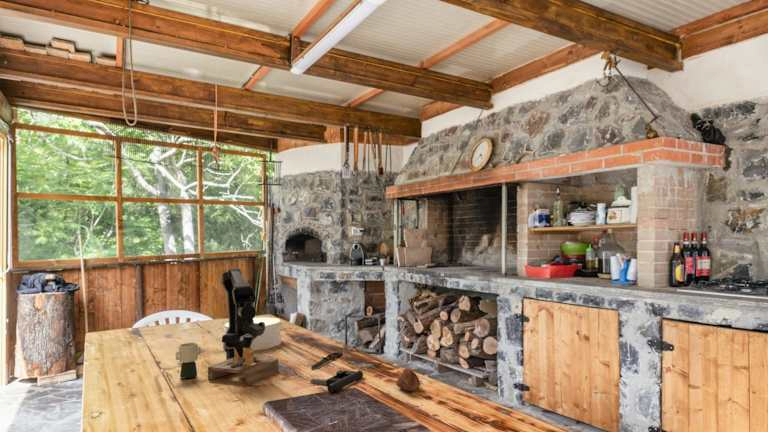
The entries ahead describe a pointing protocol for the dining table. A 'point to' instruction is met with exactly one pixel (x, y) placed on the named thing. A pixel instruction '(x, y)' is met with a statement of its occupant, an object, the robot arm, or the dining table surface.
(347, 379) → the door handle
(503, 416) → the dining table surface
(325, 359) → the knife
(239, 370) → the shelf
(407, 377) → the fossil
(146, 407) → the dining table surface
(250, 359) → the tall grooved wooden block
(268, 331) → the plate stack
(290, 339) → the dining table surface
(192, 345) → the character mug
